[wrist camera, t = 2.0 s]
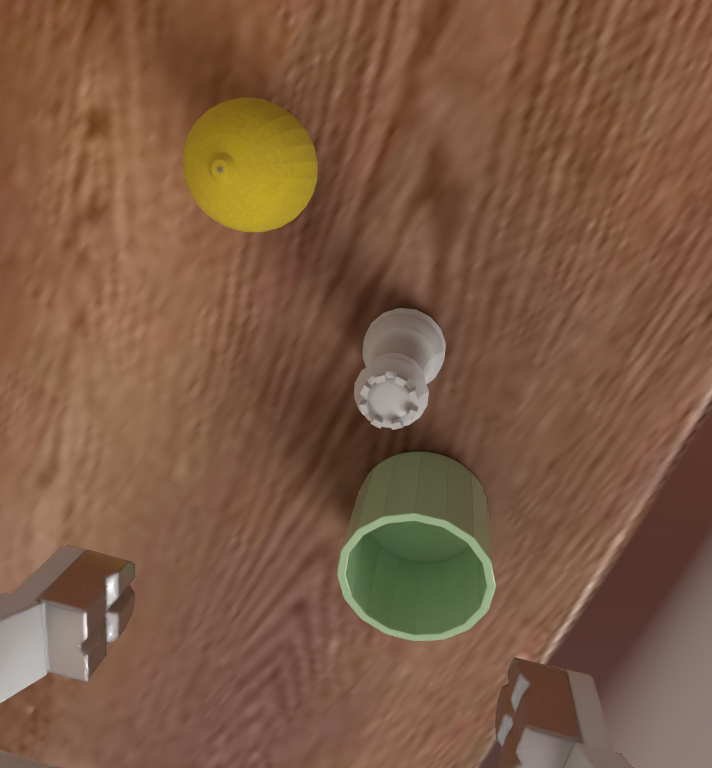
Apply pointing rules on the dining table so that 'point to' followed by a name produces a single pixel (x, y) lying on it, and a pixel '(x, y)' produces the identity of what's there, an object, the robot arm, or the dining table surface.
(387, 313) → the rook chess piece
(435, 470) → the cup
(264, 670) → the dining table surface
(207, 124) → the lemon
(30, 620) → the robot arm
